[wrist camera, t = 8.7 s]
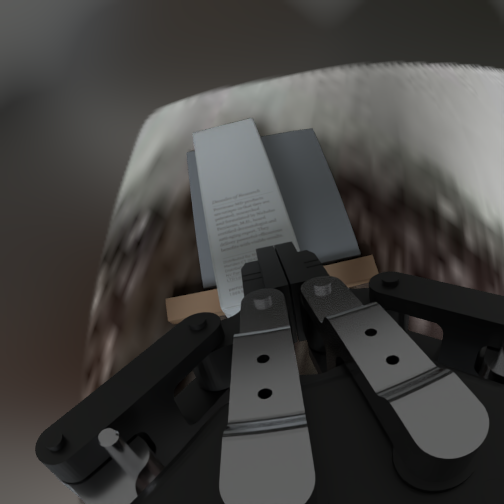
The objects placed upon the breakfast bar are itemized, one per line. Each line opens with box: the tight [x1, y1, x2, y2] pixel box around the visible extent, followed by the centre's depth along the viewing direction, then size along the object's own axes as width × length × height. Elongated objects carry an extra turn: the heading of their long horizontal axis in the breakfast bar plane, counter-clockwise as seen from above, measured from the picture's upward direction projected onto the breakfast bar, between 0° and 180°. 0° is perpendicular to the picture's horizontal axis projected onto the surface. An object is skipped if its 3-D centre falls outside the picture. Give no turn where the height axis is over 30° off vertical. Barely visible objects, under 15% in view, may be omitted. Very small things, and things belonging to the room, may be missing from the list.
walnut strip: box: [166, 255, 379, 324], centre depth 21 cm, size 14×2×1 cm, turn 101°
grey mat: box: [187, 128, 361, 289], centre depth 24 cm, size 11×12×1 cm
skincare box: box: [192, 118, 300, 318], centre depth 19 cm, size 6×4×12 cm
